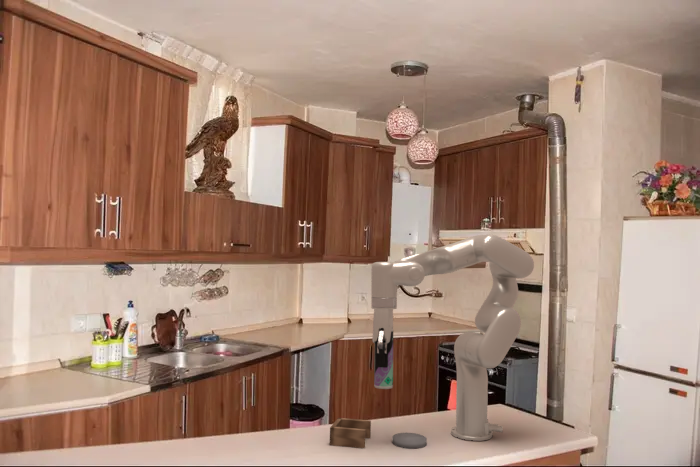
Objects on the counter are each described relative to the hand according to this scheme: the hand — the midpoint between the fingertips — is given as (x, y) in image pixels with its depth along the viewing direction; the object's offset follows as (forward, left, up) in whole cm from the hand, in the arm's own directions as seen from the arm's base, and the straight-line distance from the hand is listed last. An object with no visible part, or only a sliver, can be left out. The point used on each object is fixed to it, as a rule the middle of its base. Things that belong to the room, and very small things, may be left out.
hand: (383, 364), depth 166 cm
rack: (+9, 0, -23) cm, 25 cm away
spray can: (0, 0, -7) cm, 7 cm away
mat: (-8, -3, -23) cm, 24 cm away
